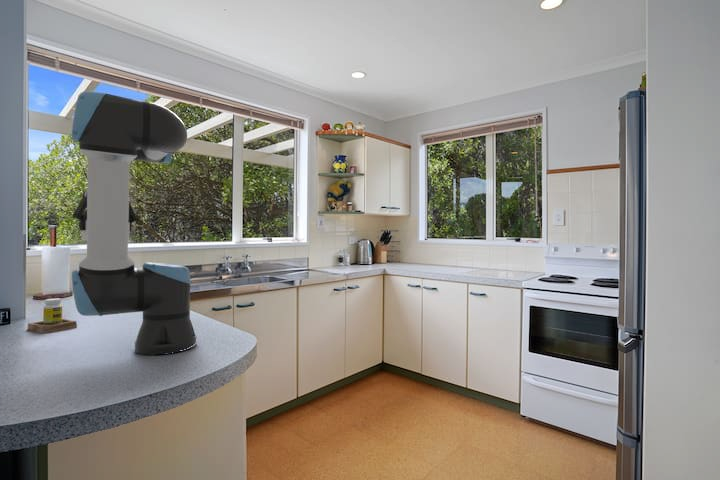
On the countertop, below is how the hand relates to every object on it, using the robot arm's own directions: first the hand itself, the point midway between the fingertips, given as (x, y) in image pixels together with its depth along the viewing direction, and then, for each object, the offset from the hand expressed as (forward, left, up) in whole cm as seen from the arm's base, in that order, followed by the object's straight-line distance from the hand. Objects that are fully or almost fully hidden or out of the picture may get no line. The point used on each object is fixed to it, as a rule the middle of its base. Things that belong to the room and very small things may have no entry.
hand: (106, 240), depth 130 cm
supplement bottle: (+8, +12, -28) cm, 31 cm away
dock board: (+8, +12, -29) cm, 32 cm away
